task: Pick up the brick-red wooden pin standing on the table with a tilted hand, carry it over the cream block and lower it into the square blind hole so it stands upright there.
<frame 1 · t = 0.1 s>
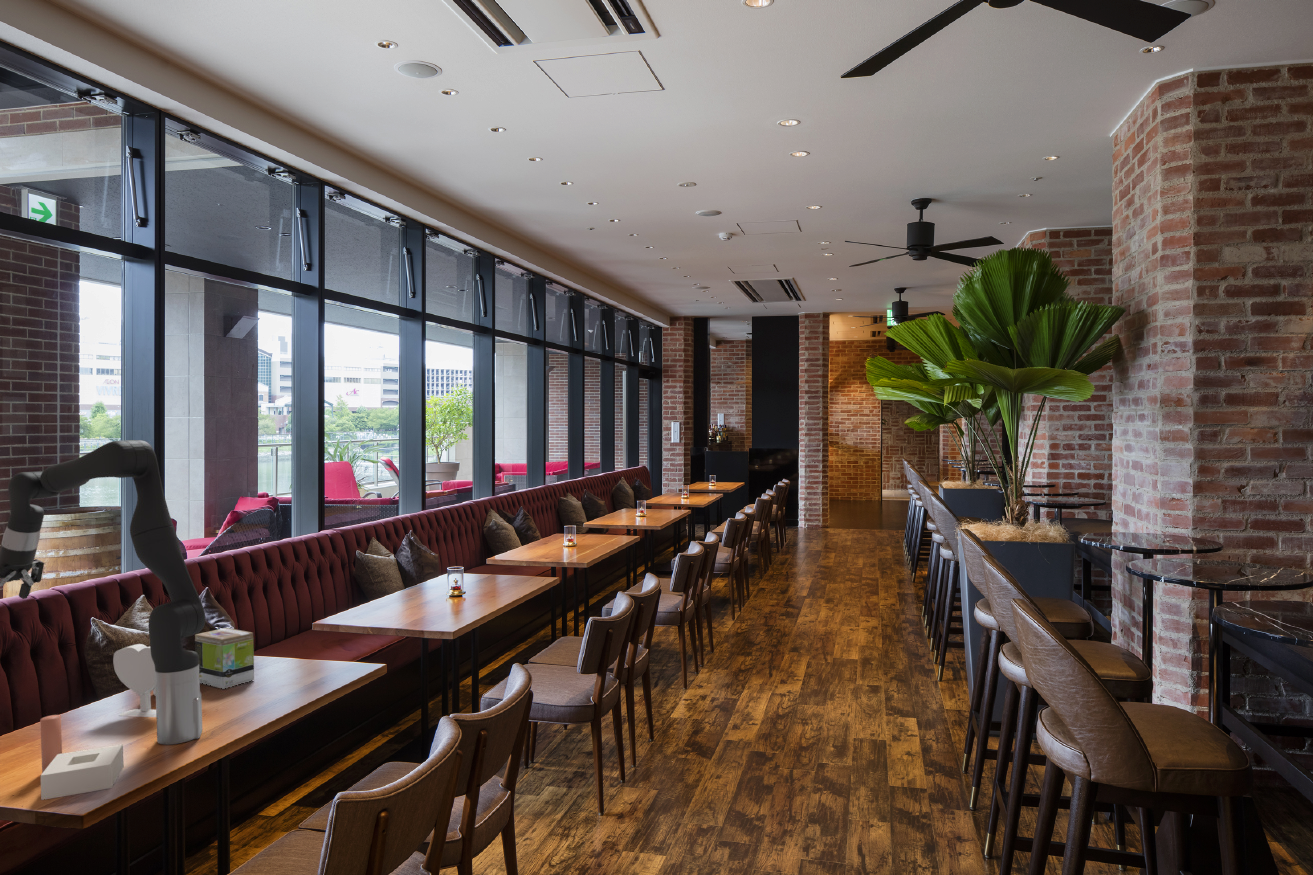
hand: (5, 600, 210), 31 cm above the table, tool tilted 20°, fingers open, 8 cm apart
pin: (52, 771, 176), on the table
milk bottle: (169, 693, 230), on the table
heart sculpture: (145, 713, 213), on the table
block: (84, 782, 170), on the table
tea box: (225, 682, 239), on the table
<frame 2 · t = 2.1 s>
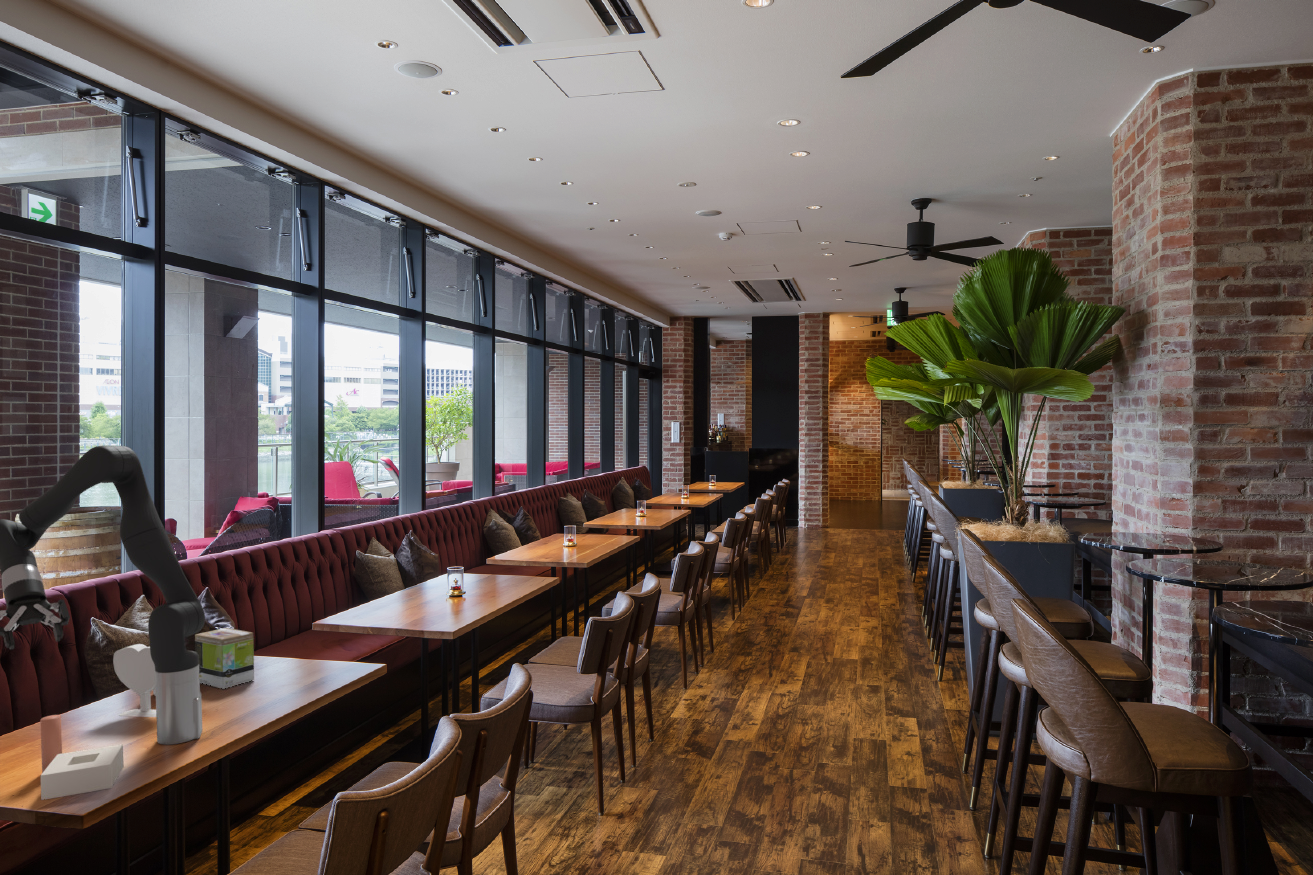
hand: (36, 643, 184), 27 cm above the table, tool tilted 45°, fingers open, 8 cm apart
nothing on the table moved.
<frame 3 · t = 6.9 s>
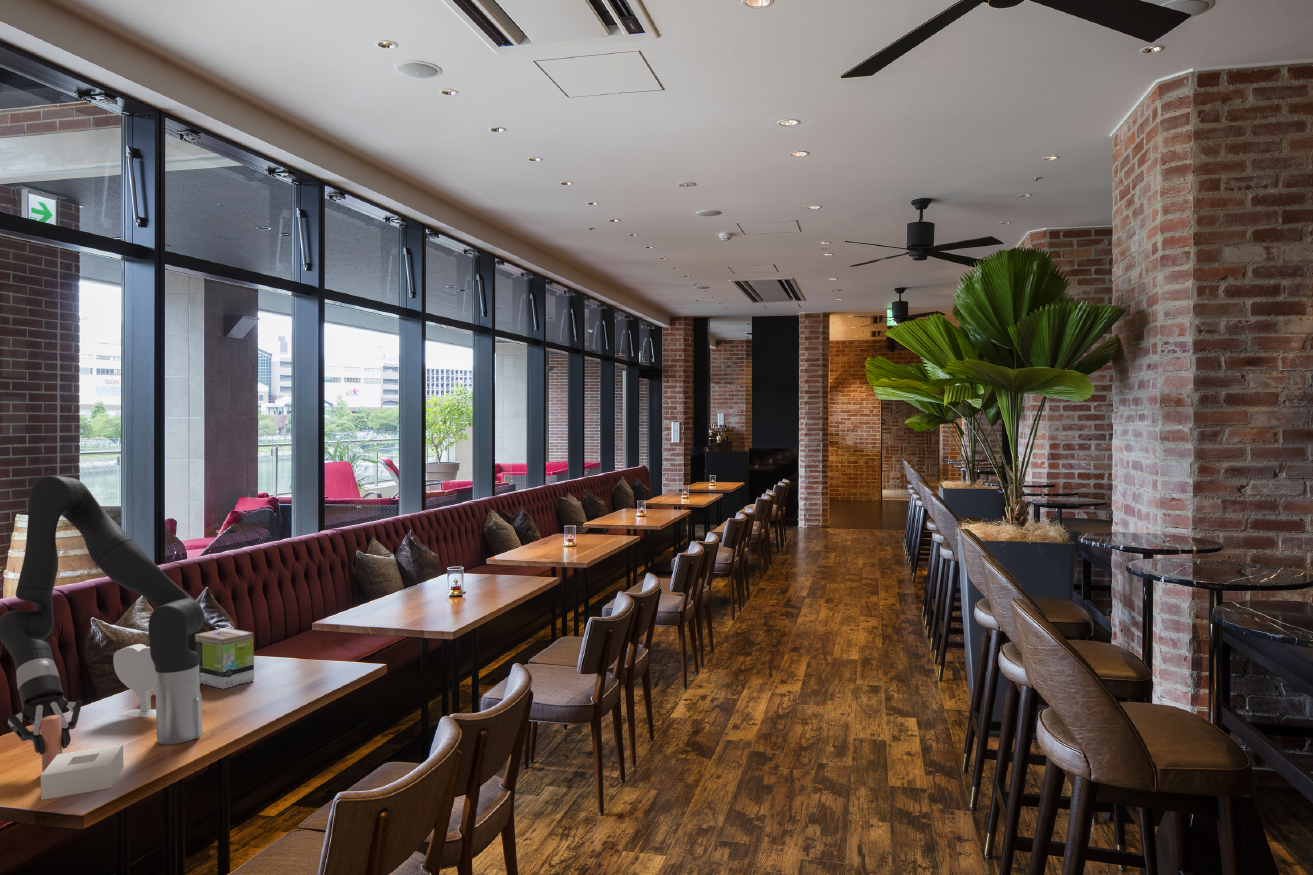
hand: (54, 748, 175), 6 cm above the table, tool tilted 45°, fingers closed on pin, 3 cm apart
pin: (52, 771, 176), on the table, touching gripper
everything else where it was.
when the fingers open (8 cm above the table, at t = 12.3 s): pin drops 1 cm, resting on block.
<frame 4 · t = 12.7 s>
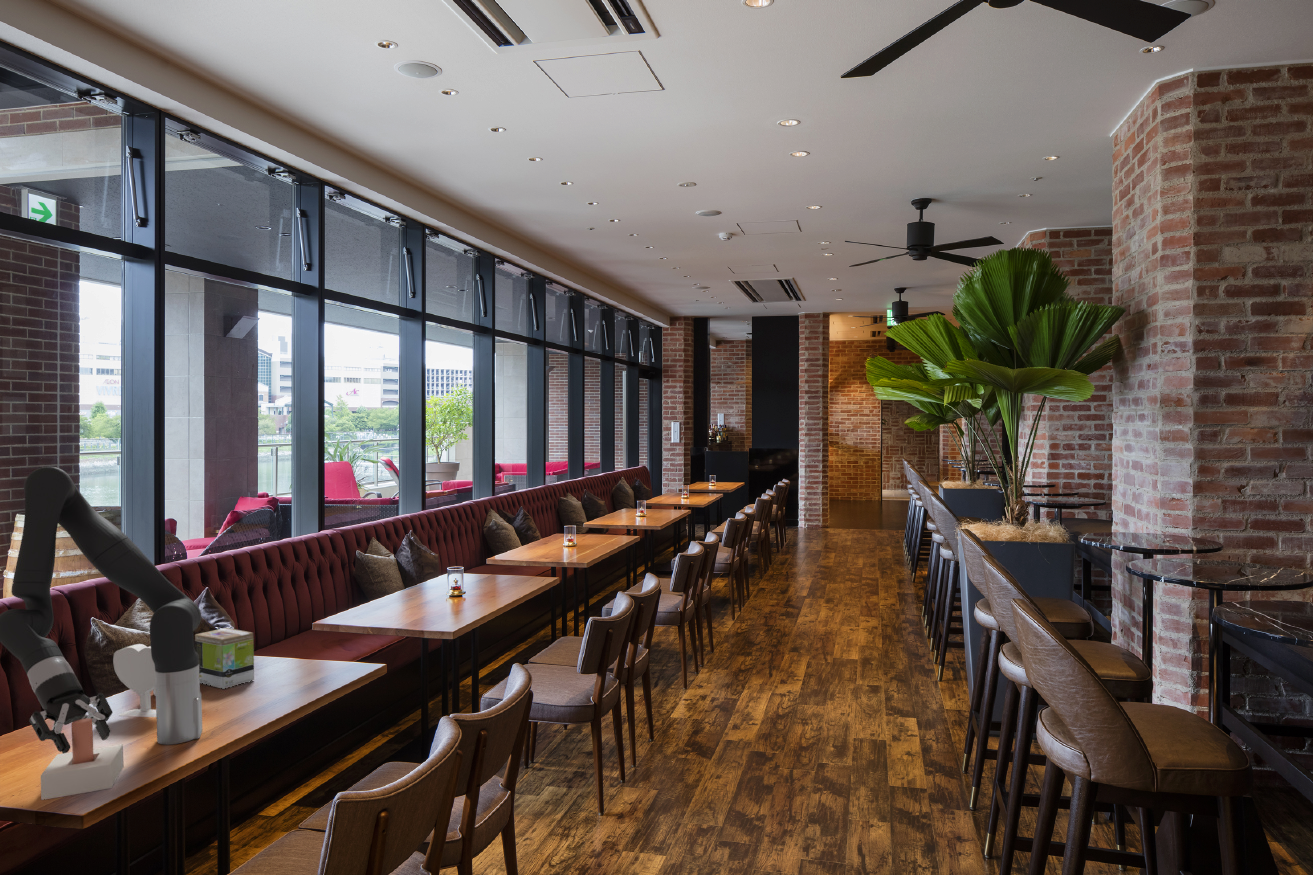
hand: (87, 743, 169), 8 cm above the table, tool tilted 45°, fingers open, 7 cm apart
pin: (83, 777, 170), point 1 cm above the table, touching block
everything else where it was.
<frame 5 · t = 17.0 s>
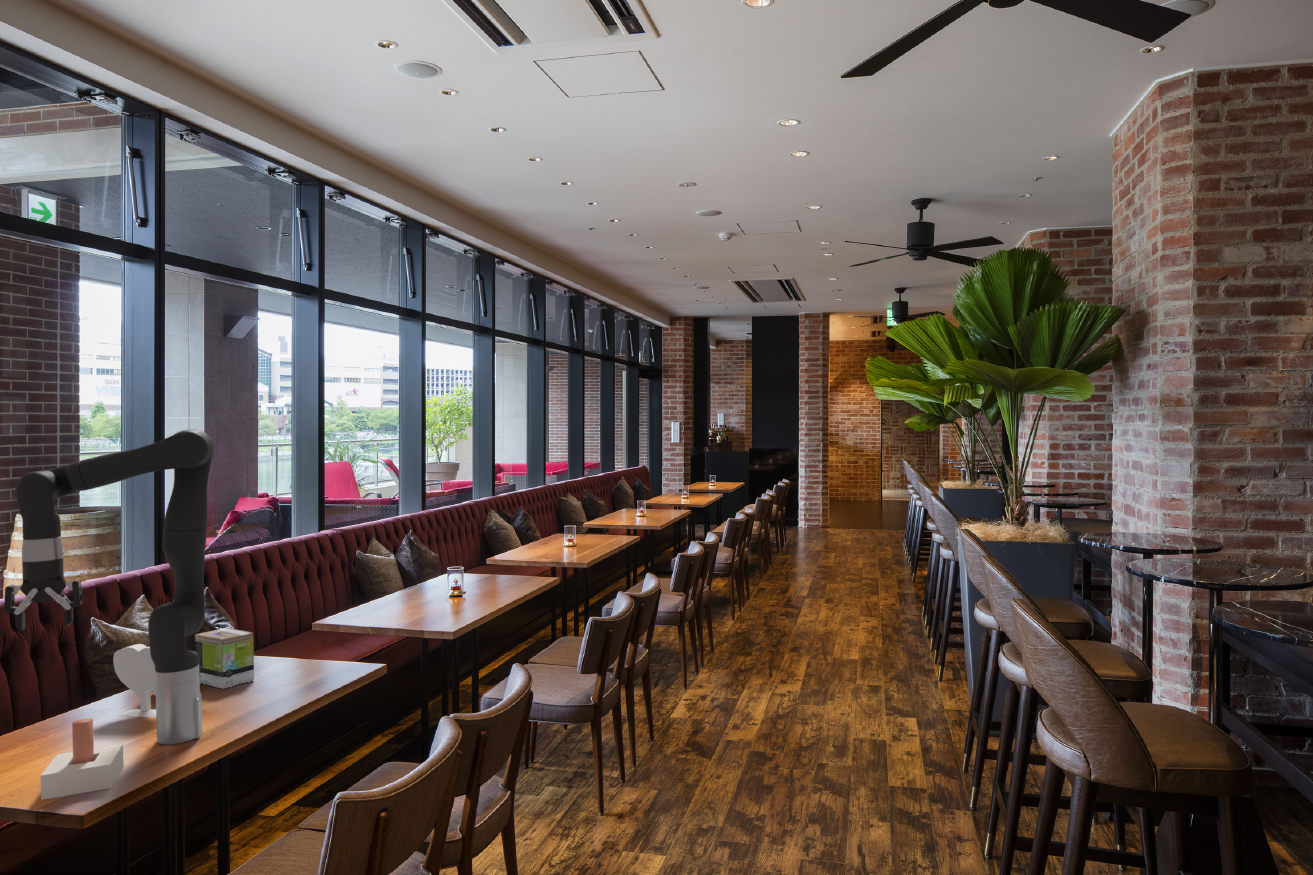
hand: (45, 627, 184), 30 cm above the table, tool pointing down, fingers open, 8 cm apart
nothing on the table moved.
at the end: pin 0.1 cm off-centre on the block, point 1.1 cm above the block's base; pin tilted 0°; the gripper is holding nothing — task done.
